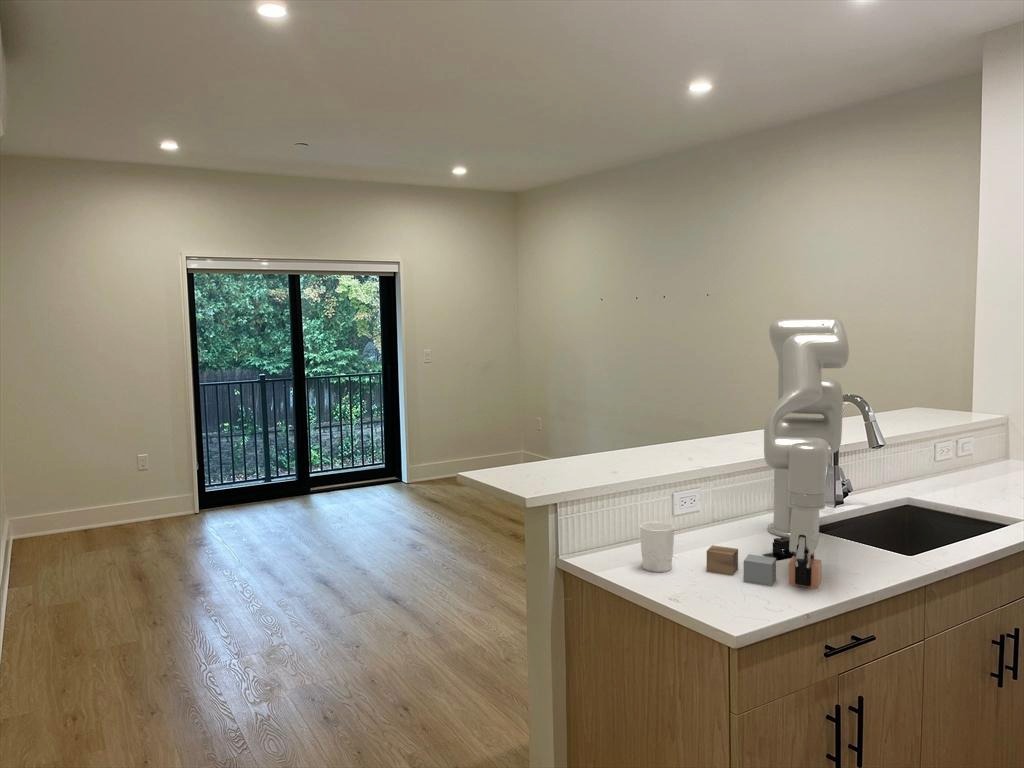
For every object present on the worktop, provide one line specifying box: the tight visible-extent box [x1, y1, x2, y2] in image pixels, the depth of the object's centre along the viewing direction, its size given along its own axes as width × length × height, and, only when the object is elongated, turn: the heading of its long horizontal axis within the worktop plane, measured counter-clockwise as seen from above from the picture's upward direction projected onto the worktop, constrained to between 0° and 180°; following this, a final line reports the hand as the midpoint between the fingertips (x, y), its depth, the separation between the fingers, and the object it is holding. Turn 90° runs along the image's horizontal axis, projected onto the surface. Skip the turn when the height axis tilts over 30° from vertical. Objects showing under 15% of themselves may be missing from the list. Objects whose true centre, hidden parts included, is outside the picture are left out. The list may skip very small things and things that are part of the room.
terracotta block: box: [788, 556, 822, 590], centre depth 162 cm, size 5×6×5 cm
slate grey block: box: [742, 553, 777, 587], centre depth 164 cm, size 5×6×5 cm
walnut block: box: [705, 544, 739, 577], centre depth 171 cm, size 5×6×5 cm
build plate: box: [761, 536, 797, 562], centre depth 182 cm, size 12×7×5 cm, turn 115°
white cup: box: [639, 521, 675, 573], centre depth 174 cm, size 8×8×10 cm
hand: (804, 580), depth 162 cm, fingers closed on terracotta block, 5 cm apart
